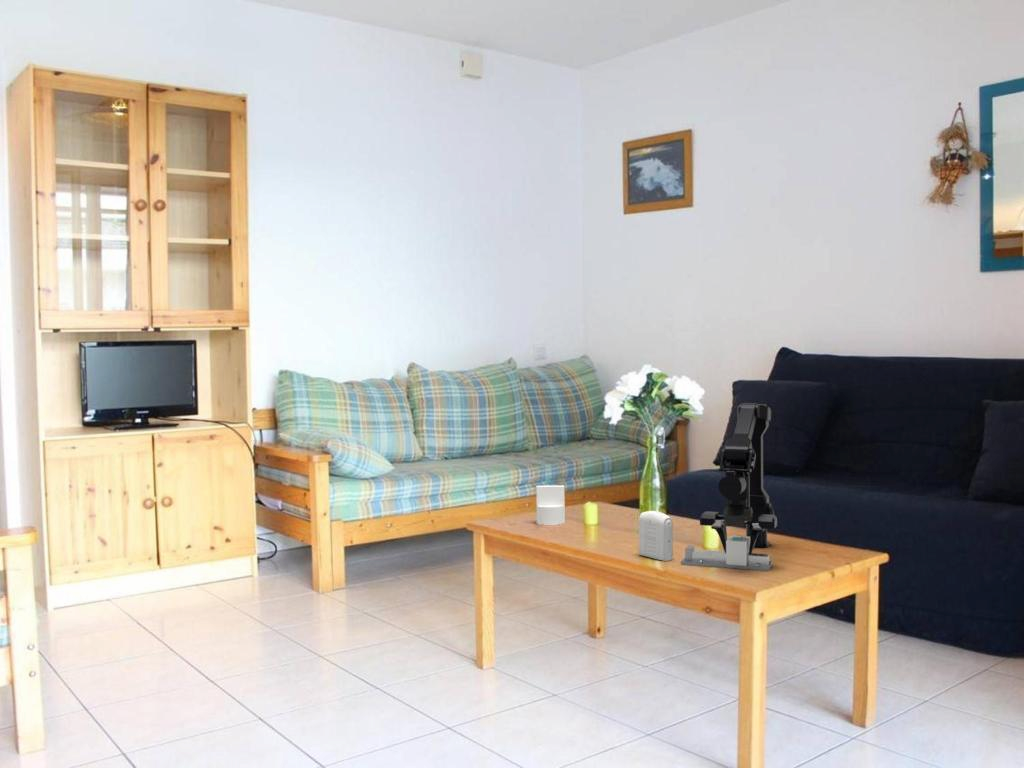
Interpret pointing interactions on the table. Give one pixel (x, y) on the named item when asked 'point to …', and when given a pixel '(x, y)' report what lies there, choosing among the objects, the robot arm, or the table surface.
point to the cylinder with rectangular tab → (550, 504)
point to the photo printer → (656, 535)
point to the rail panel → (721, 564)
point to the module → (737, 550)
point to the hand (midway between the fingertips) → (738, 553)
